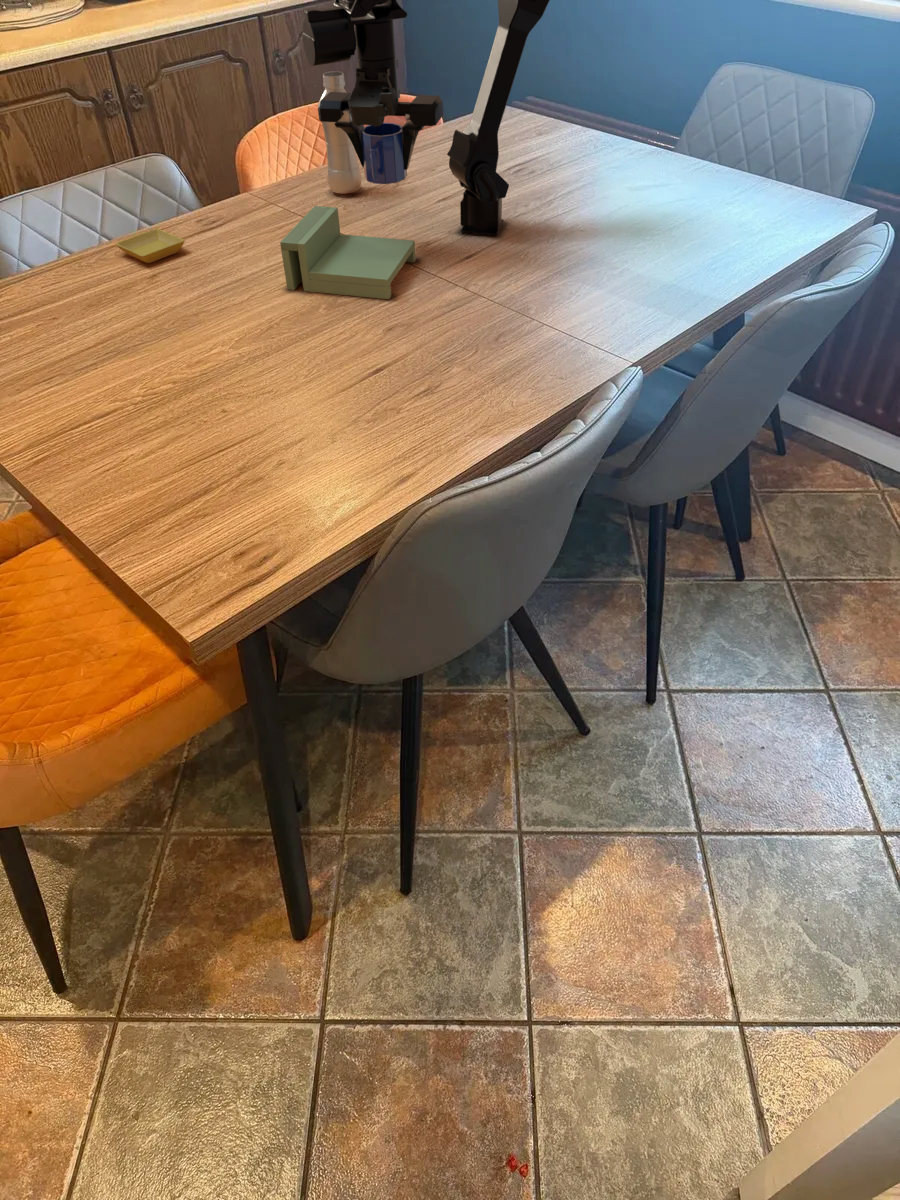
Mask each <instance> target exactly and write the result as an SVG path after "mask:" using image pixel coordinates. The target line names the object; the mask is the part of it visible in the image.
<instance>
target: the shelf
mask: <svg viewBox="0 0 900 1200" xmlns="http://www.w3.org/2000/svg"><path fill="white" fill-rule="evenodd" d="M340 227H341V226H340V218H339V208H338V207H337V206H336V207H335V206H321V205H314V206H313V207H312V208H311V209H310V210H309V211H308V212H307V214H305V216H303V218H302V219H301V220H300V221H299V222H298V223H297V224H296V225H295V226H294V227H293V228H292V229H291V230H290V231H289V232H288V233H287V234H286V235H285V236H284V237H283V238H282V239H281V240H280V242H279V244H280V252H281V257H282V263H283V271H284V276H285V282H286V289H287V290H292V291H295V290H296V289H297V287H298V286H299V285H300V284H301V283H302V287H303V291H304V292H312V293H323V294H332V295H340V296H341V295H342V296H351V297H361V298H370V299H371V298H373V299H380V300H390V299H391V297H392V287H391V284H392V282H393V281H394V280H395V278H396V276H397V275H398V274H399V272H400V270H401V269H402V268H403V266H404V264H405V263H415V262H416V259H417V258H416V257H417V255H416V241H415V240H414V239H401V238H389V237H379V236H367V235H354V234H343V233H341V228H340Z"/></svg>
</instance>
